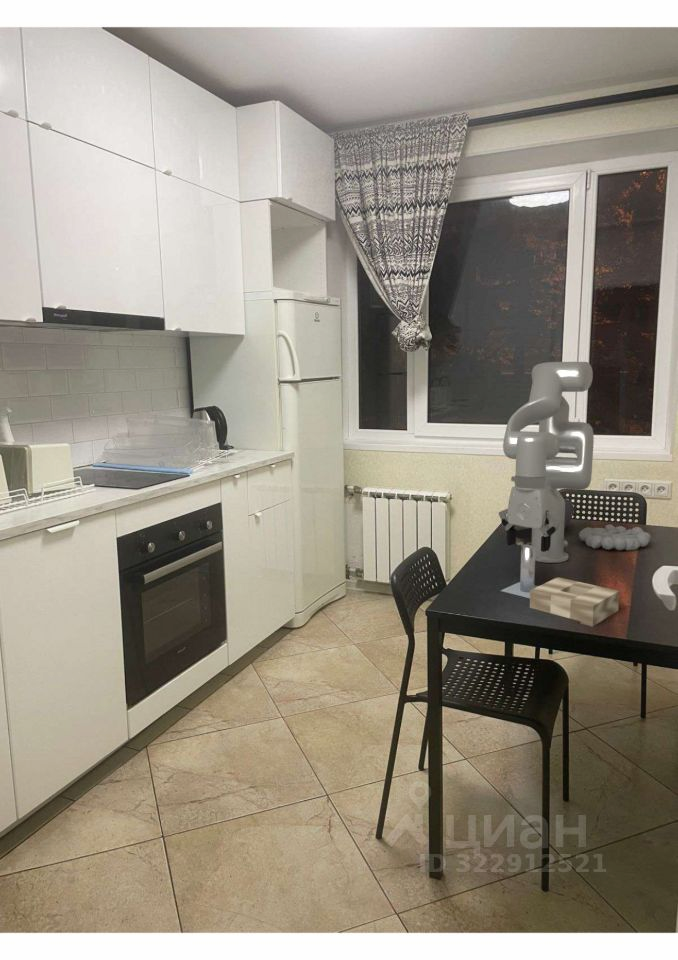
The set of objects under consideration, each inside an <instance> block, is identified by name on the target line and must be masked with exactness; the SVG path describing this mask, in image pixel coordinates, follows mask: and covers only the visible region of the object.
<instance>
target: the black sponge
mask: <svg viewBox="0 0 678 960" xmlns="http://www.w3.org/2000/svg"><path fill="white" fill-rule="evenodd" d="M505 538H506V539H507V536H506V537H505ZM529 544H531V545H532V528H528V527H527V528H523V529H516V543H515V544H514V545H516V546H519V545H521V546H522V545H529ZM521 546H520V547H521Z"/></svg>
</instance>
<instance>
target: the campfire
mask: <svg viewBox="0 0 678 960" xmlns="http://www.w3.org/2000/svg"><path fill="white" fill-rule="evenodd" d="M604 527H605V528H603V527H594V528H592V527H590V526H589V527H588V526H587V527H585V528H583V529H582V530H580V532H579V533H578V536H579V540H580V541H582V542H585V544H586V546H587V547H590V548H592V549H598V548H601V547H602V548H603V549H605V550H611V549H616V550H617V551H622V550H624V551H627V552H628V551H629V552H630V551H633V550H634V551H636V550H637V549H639V548H640V547H641V548H645V547H646V546H649V545H648V544H649V543H650V541H651V534H650V533H648V532H646V531H644V530H643V529H642V528H641V527H640V526H639V527H638V526H636V527H633V528H632V529H627V528H626V527H625V526H621V525H619V526H614V525H612V524H606V525H605V526H604Z"/></svg>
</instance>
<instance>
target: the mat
mask: <svg viewBox="0 0 678 960" xmlns="http://www.w3.org/2000/svg"><path fill="white" fill-rule="evenodd" d="M538 586H539V585H535V584H534V588H536V587H538ZM500 592H504V593H506V594H507V593H508V594H511V595H516V596H519V597H524V598H527V599H530V592H529V593H528V592H522V591H520V581H519V582H517V583H514V584H512V585H510V586H507V587H505V588H503V589H501V590H500Z"/></svg>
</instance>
